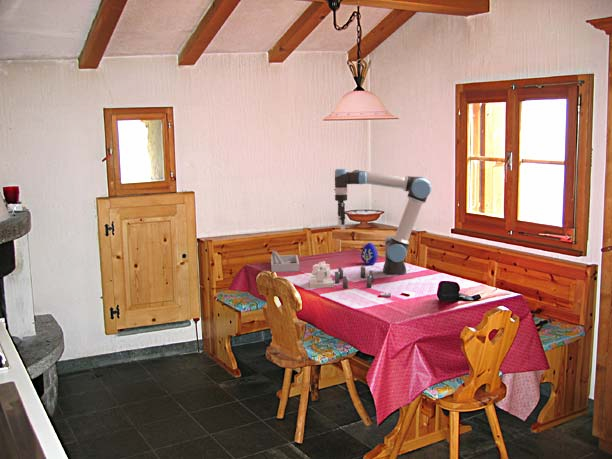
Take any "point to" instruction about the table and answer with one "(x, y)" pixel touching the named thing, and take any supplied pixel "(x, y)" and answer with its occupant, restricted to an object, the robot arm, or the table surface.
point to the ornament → (369, 254)
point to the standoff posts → (345, 278)
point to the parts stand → (320, 283)
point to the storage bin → (285, 266)
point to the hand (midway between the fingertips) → (341, 228)
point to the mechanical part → (321, 271)
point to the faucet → (275, 255)
